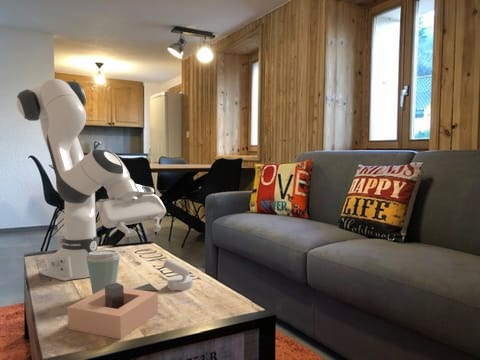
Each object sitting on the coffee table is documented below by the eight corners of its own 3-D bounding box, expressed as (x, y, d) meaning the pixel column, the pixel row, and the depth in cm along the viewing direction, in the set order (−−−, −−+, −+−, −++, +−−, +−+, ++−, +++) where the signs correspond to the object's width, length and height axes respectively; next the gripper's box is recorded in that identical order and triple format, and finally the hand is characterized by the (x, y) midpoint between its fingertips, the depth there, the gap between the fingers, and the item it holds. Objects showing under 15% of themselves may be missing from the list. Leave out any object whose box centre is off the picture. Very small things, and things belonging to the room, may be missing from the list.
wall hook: (168, 255, 142) (195, 256, 140) (169, 281, 143) (195, 282, 141) (159, 262, 134) (187, 263, 132) (159, 289, 134) (187, 291, 132)
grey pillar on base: (101, 320, 111) (100, 286, 110) (119, 314, 114) (117, 281, 114) (111, 326, 107) (110, 290, 106) (129, 320, 111) (127, 285, 110)
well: (68, 328, 106) (67, 307, 105) (110, 304, 122) (109, 285, 121) (121, 339, 100) (120, 316, 99) (157, 312, 116) (157, 292, 115)
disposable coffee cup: (86, 292, 132) (84, 248, 130) (120, 288, 136) (118, 245, 135) (88, 304, 122) (86, 257, 121) (124, 298, 126) (122, 252, 125)
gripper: (96, 193, 112) (115, 232, 106) (157, 187, 127) (176, 221, 121) (89, 207, 115) (108, 245, 109) (149, 199, 130) (168, 233, 124)
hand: (144, 232), depth 115 cm, fingers open, 8 cm apart
